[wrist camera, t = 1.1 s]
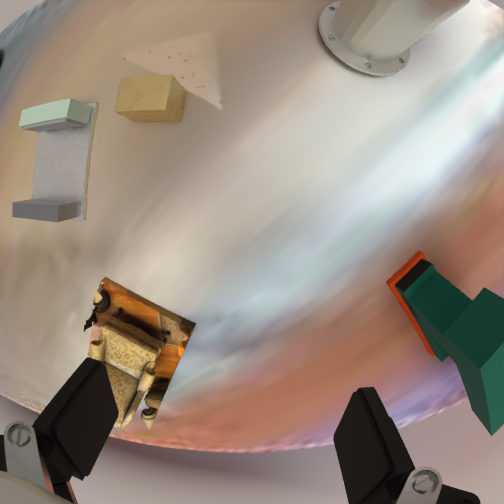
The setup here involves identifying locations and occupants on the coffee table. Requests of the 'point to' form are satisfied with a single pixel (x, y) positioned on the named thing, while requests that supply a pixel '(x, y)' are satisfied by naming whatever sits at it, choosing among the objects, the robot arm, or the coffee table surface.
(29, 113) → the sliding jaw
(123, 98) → the brass block
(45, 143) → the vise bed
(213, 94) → the coffee table surface
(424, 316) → the power tool
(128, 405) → the armchair
